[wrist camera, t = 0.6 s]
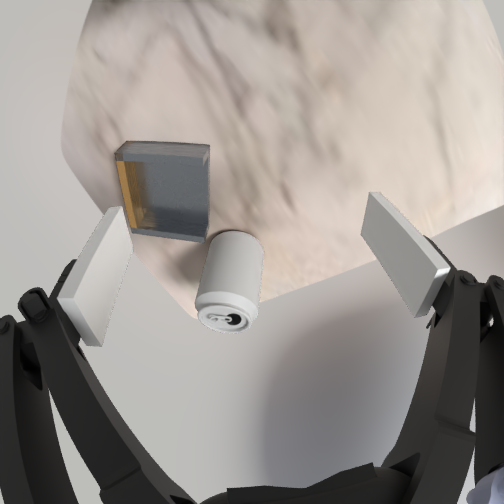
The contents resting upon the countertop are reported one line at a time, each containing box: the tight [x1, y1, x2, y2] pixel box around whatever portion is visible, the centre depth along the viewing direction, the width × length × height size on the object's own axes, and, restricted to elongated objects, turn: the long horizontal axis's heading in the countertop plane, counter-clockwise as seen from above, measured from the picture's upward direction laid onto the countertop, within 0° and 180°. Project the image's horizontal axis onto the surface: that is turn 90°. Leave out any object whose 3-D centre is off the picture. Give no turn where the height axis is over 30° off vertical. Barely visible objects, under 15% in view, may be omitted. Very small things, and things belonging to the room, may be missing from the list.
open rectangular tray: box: [115, 141, 210, 243], centre depth 32 cm, size 12×10×3 cm
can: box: [195, 231, 264, 333], centre depth 35 cm, size 8×8×12 cm
